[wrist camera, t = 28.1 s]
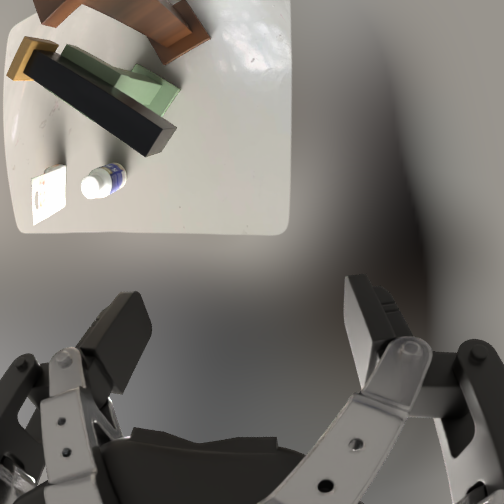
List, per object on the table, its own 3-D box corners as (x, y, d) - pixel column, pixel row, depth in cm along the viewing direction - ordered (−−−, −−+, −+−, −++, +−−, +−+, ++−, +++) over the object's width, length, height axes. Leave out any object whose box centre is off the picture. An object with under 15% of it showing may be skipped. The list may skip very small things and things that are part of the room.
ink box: (58, 205, 53) (24, 224, 43) (58, 163, 49) (22, 176, 39) (67, 207, 53) (33, 226, 43) (68, 164, 49) (31, 178, 39)
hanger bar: (183, 119, 26) (165, 119, 21) (156, 160, 28) (135, 168, 23) (50, 40, 21) (24, 36, 17) (32, 75, 23) (5, 75, 18)
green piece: (180, 89, 43) (121, 74, 24) (161, 118, 45) (94, 122, 26) (138, 64, 41) (66, 44, 22) (120, 91, 43) (43, 87, 24)
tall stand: (213, 43, 39) (128, -48, 10) (167, 70, 41) (37, 29, 12) (183, -3, 35) (91, -96, 6) (140, 23, 37) (17, -34, 8)
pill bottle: (127, 162, 48) (102, 172, 40) (127, 190, 51) (103, 203, 43) (103, 162, 49) (77, 171, 41) (104, 188, 51) (78, 201, 43)
